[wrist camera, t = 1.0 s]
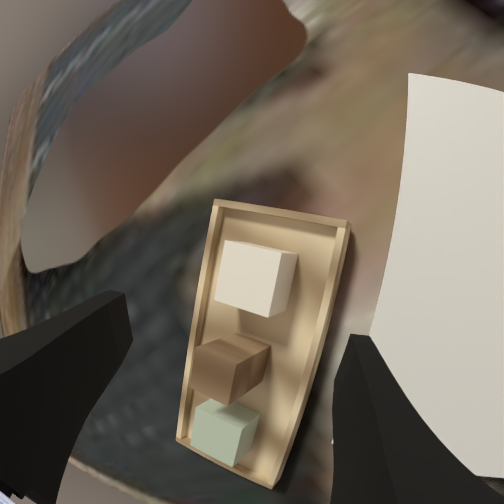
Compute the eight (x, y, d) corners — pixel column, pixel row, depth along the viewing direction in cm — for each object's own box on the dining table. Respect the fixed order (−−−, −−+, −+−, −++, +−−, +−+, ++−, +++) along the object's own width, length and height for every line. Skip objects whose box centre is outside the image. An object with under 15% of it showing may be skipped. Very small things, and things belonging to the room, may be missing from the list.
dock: (511, 462, 14) (517, 480, 11) (339, 427, 21) (330, 444, 19) (584, 138, 12) (597, 126, 10) (409, 90, 19) (408, 71, 17)
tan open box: (284, 472, 23) (248, 518, 17) (193, 429, 28) (145, 458, 22) (353, 225, 22) (332, 210, 16) (233, 204, 26) (178, 188, 20)
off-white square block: (286, 310, 22) (268, 317, 19) (236, 295, 24) (213, 299, 21) (298, 253, 22) (281, 253, 19) (246, 242, 23) (225, 240, 21)
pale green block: (250, 449, 23) (232, 467, 20) (210, 430, 24) (190, 444, 22) (260, 413, 22) (241, 429, 20) (217, 394, 24) (195, 407, 22)
